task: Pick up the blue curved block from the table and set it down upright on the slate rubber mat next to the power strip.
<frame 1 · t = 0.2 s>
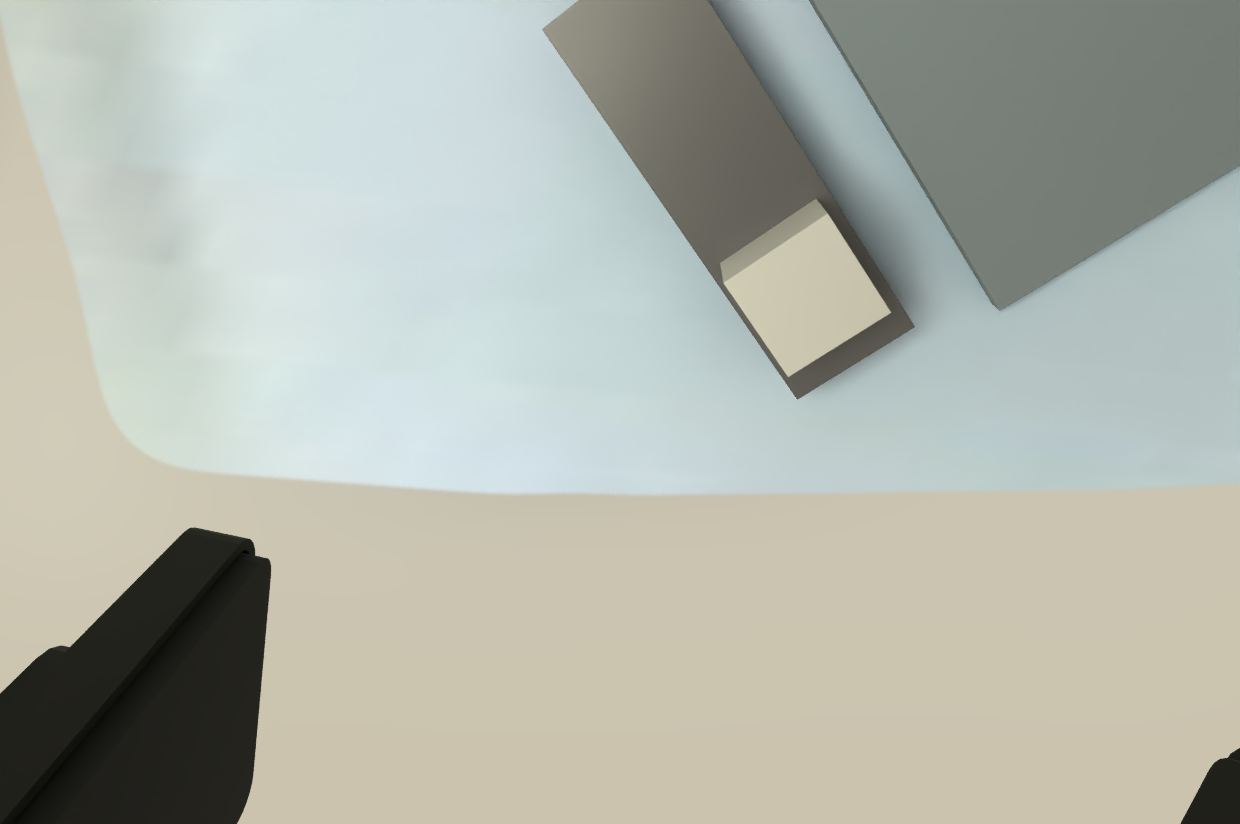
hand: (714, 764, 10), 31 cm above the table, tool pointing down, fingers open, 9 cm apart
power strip: (732, 172, 38), on the table
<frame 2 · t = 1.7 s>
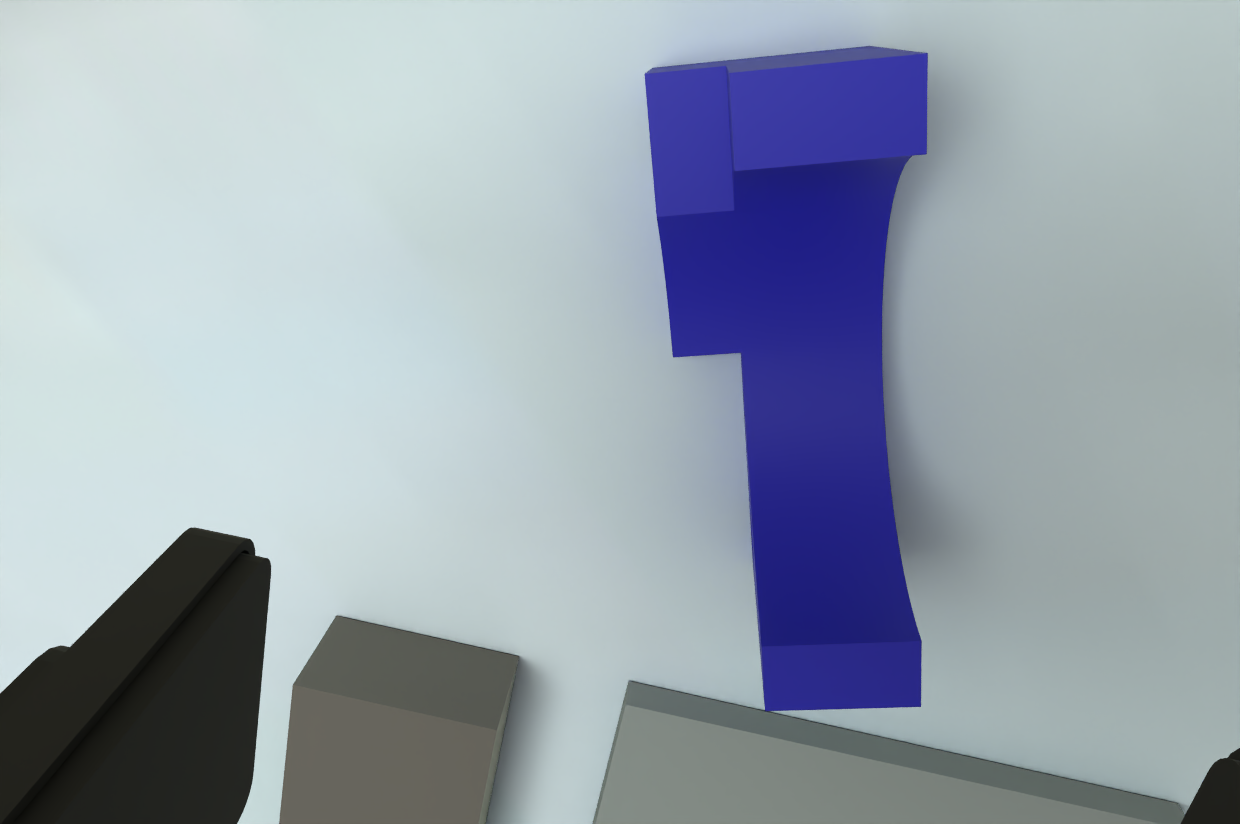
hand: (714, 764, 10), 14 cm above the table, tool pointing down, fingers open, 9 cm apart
blue curved block: (771, 328, 23), on the table
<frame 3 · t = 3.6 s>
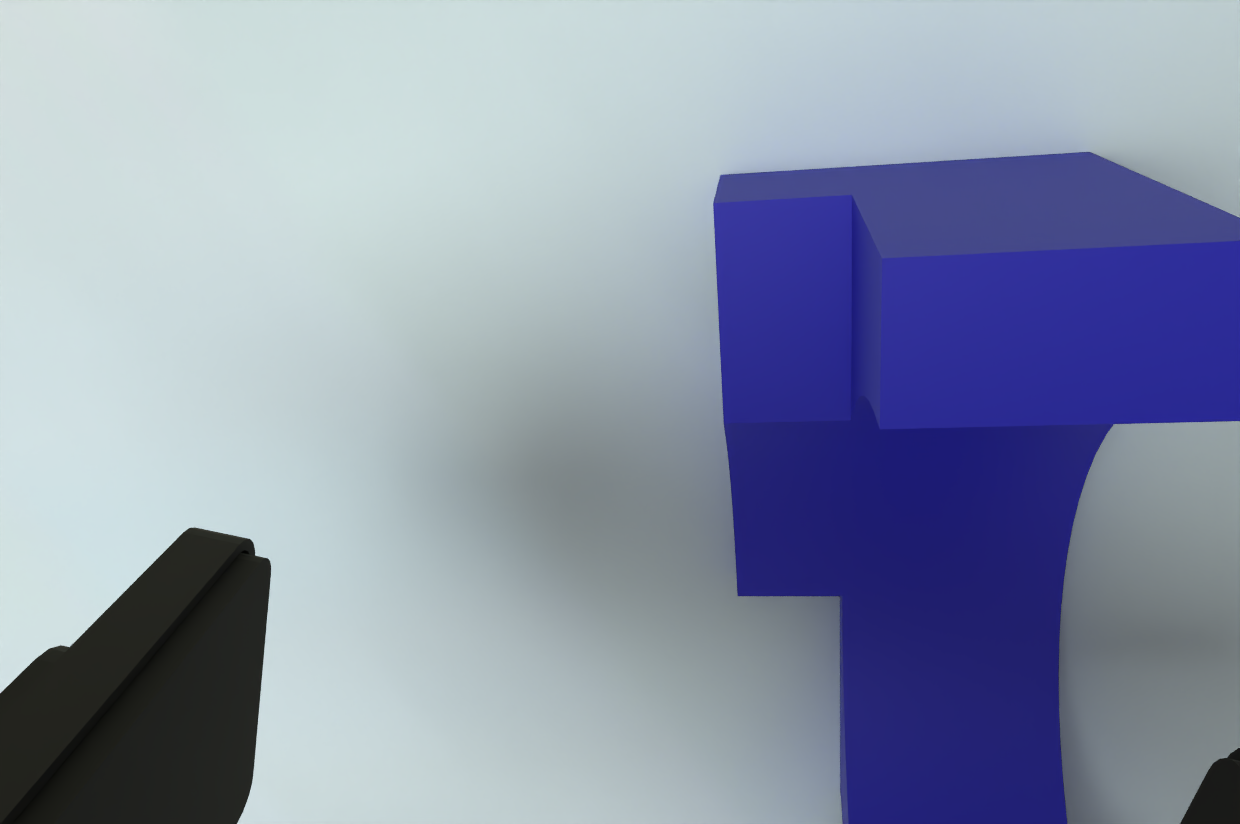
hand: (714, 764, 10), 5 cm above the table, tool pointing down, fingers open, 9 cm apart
blue curved block: (882, 538, 16), on the table, touching gripper
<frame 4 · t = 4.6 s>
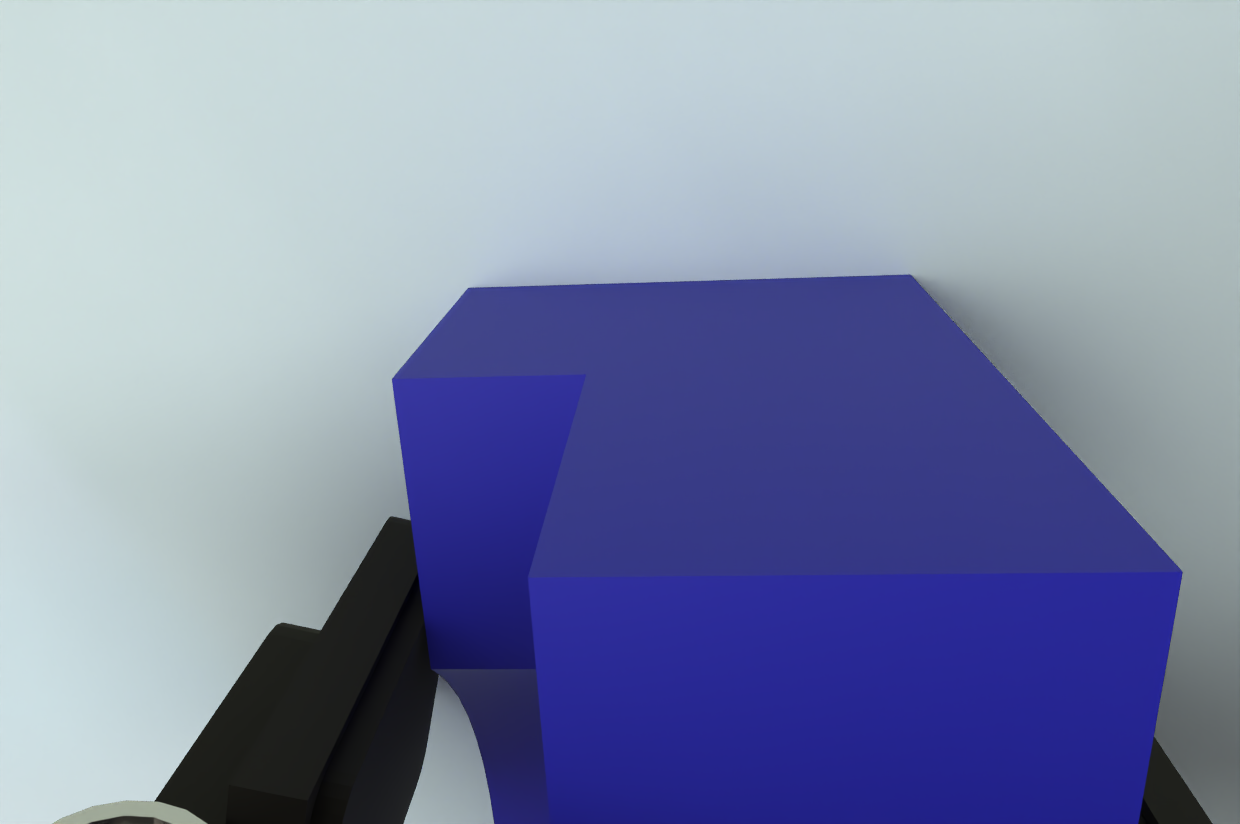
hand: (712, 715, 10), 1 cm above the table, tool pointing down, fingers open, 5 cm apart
blue curved block: (696, 741, 13), on the table
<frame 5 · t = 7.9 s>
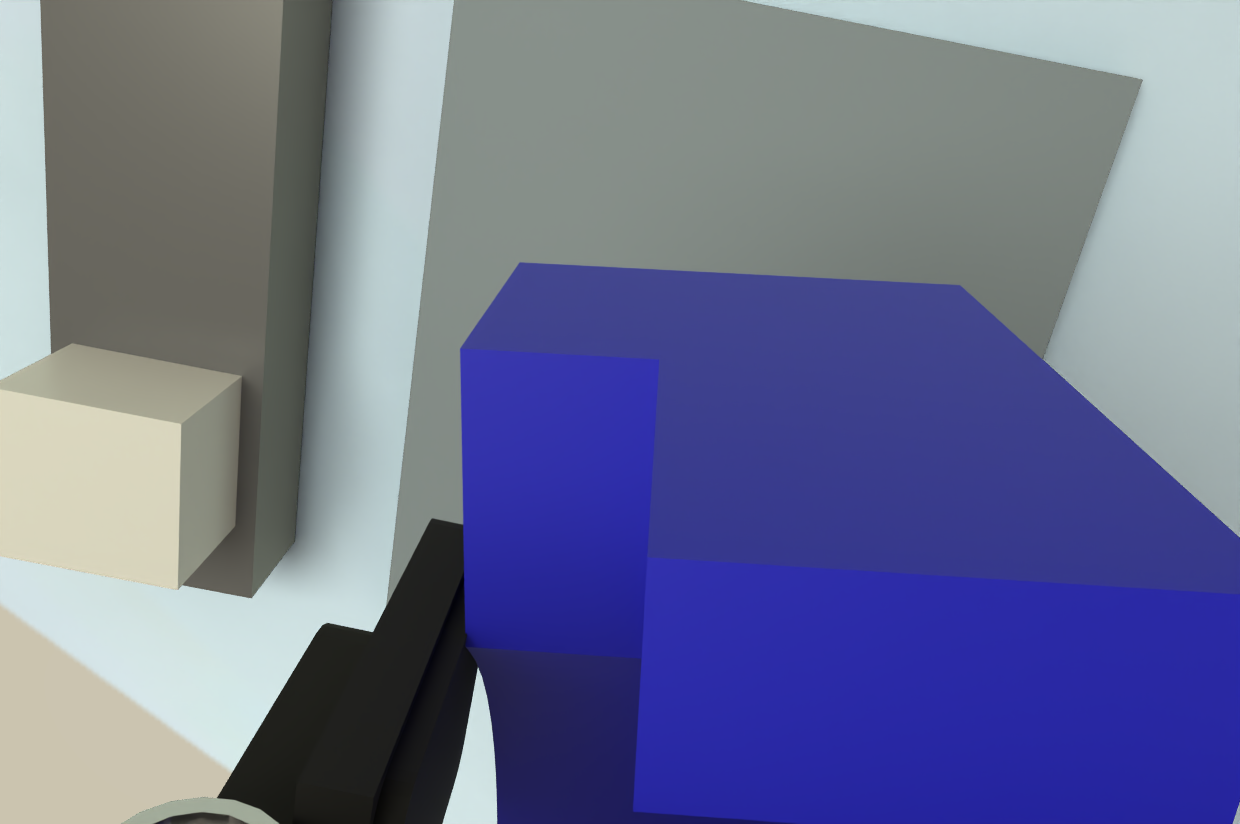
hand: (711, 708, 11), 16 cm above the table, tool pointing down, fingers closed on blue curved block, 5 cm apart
blue curved block: (697, 738, 13), point 14 cm above the table, touching gripper
slate mat: (712, 383, 26), on the table
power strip: (216, 248, 25), on the table
when the fingers open (4 cm above the table, at t = 10.7 s): blue curved block drops 1 cm, resting on slate mat.
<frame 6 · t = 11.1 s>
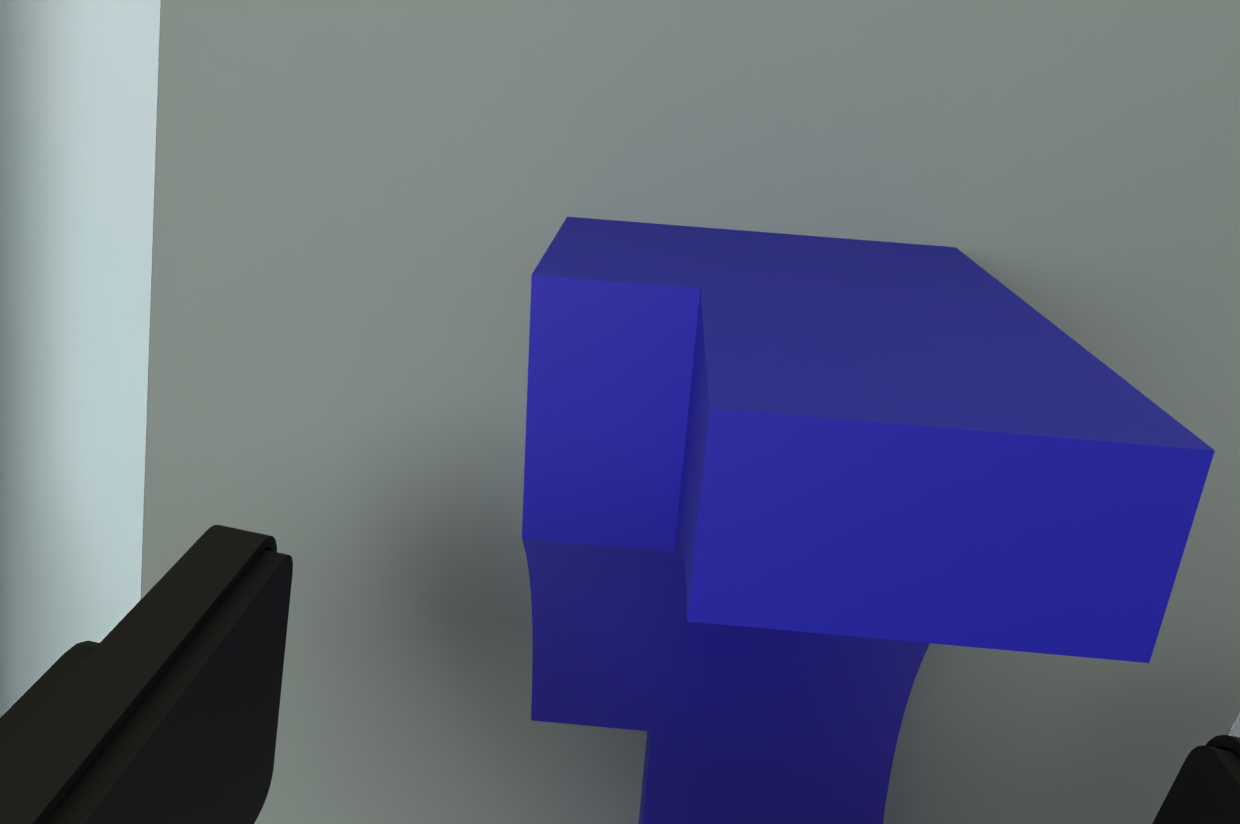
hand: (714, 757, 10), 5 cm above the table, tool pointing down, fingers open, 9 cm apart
blue curved block: (708, 656, 14), point 1 cm above the table, touching slate mat
slate mat: (703, 536, 14), on the table
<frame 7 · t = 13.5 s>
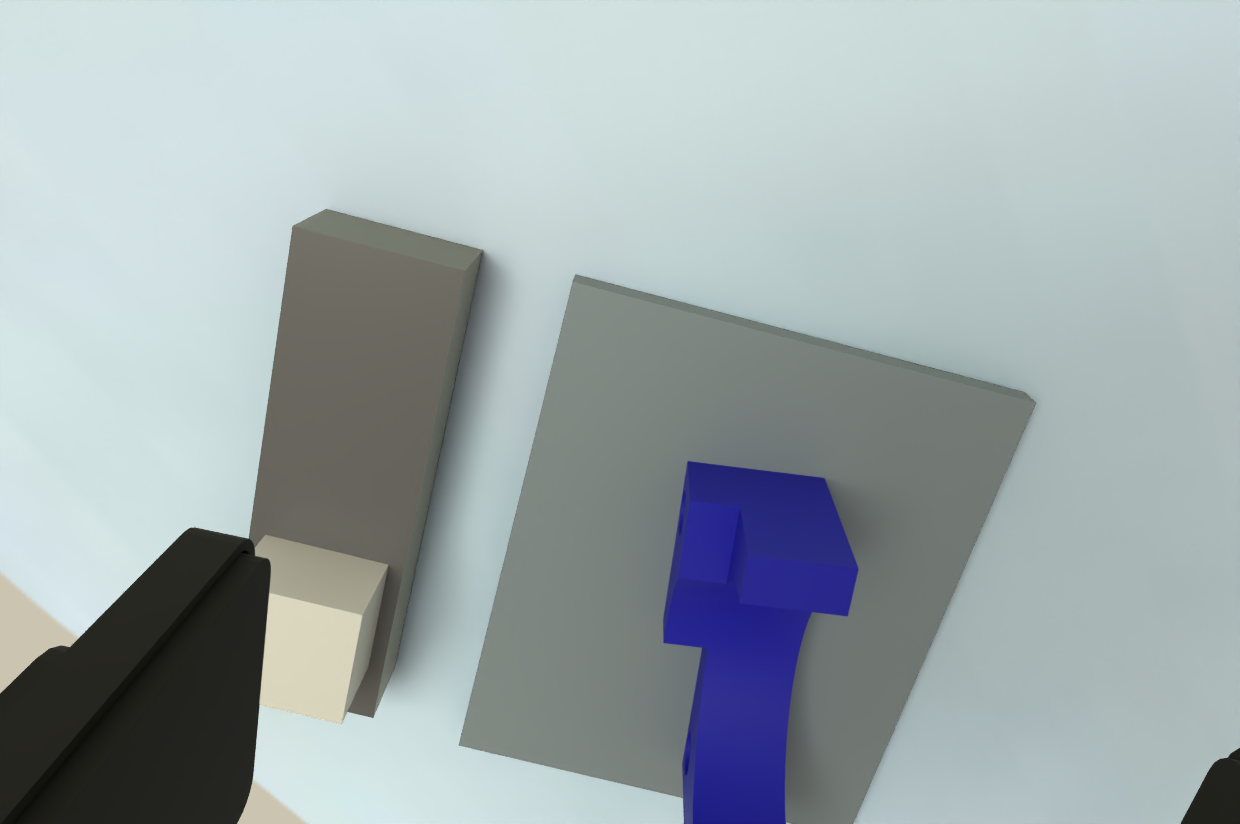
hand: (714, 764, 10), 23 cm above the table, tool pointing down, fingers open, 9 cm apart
blue curved block: (727, 623, 35), point 1 cm above the table, touching slate mat
slate mat: (722, 573, 35), on the table
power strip: (363, 457, 34), on the table
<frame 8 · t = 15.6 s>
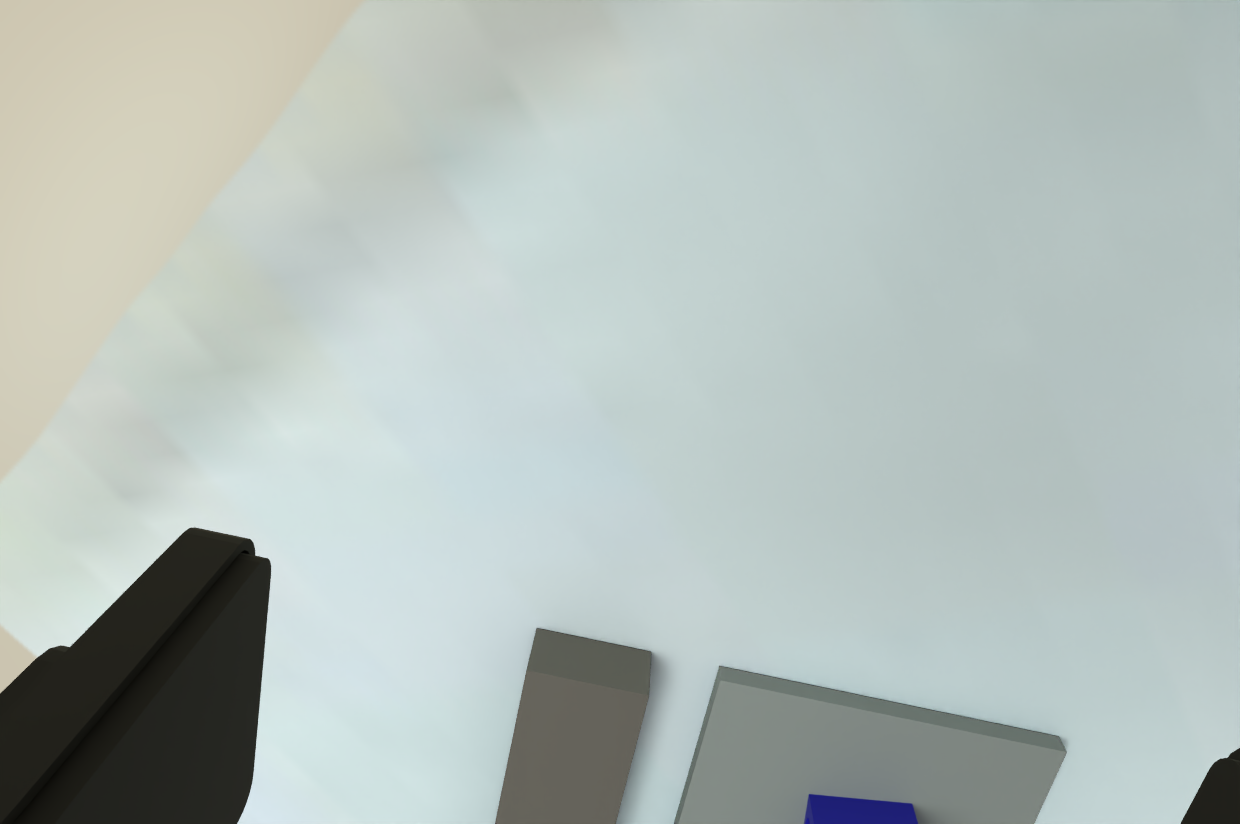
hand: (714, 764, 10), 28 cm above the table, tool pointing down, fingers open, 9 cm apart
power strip: (560, 785, 46), on the table
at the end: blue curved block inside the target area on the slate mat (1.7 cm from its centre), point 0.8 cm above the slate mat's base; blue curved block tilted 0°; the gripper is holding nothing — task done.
